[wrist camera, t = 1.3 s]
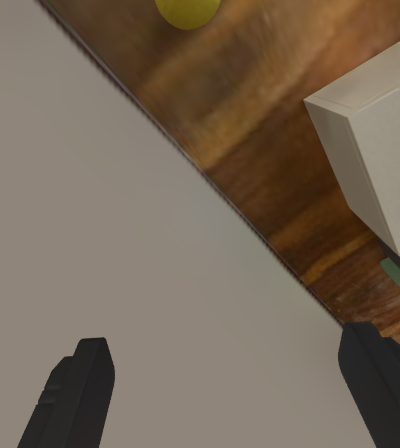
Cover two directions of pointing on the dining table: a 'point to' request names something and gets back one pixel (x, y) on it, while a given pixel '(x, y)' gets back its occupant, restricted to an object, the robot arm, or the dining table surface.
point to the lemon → (187, 12)
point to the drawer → (390, 262)
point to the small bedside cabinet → (365, 140)
